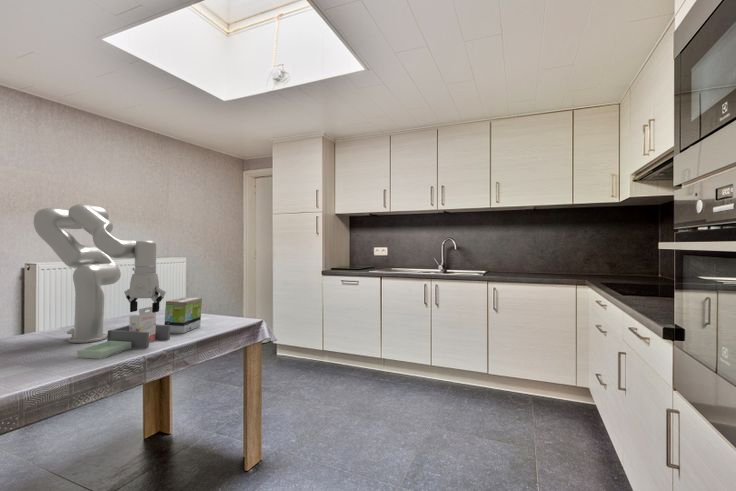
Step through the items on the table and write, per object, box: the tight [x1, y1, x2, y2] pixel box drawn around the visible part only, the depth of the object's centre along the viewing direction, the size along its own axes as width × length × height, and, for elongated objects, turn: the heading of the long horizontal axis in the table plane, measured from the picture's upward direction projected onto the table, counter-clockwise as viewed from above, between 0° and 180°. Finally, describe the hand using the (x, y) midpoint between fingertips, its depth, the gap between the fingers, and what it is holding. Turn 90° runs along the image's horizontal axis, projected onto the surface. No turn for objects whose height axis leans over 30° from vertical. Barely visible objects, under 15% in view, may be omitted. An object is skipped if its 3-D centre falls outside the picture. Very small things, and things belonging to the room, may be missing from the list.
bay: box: [106, 324, 171, 349], centre depth 141 cm, size 16×14×6 cm
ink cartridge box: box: [128, 306, 157, 343], centre depth 141 cm, size 9×5×15 cm, turn 168°
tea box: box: [163, 296, 203, 334], centre depth 165 cm, size 15×10×15 cm, turn 179°
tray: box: [76, 340, 132, 360], centre depth 127 cm, size 10×13×2 cm
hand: (144, 311), depth 141 cm, fingers open, 9 cm apart
